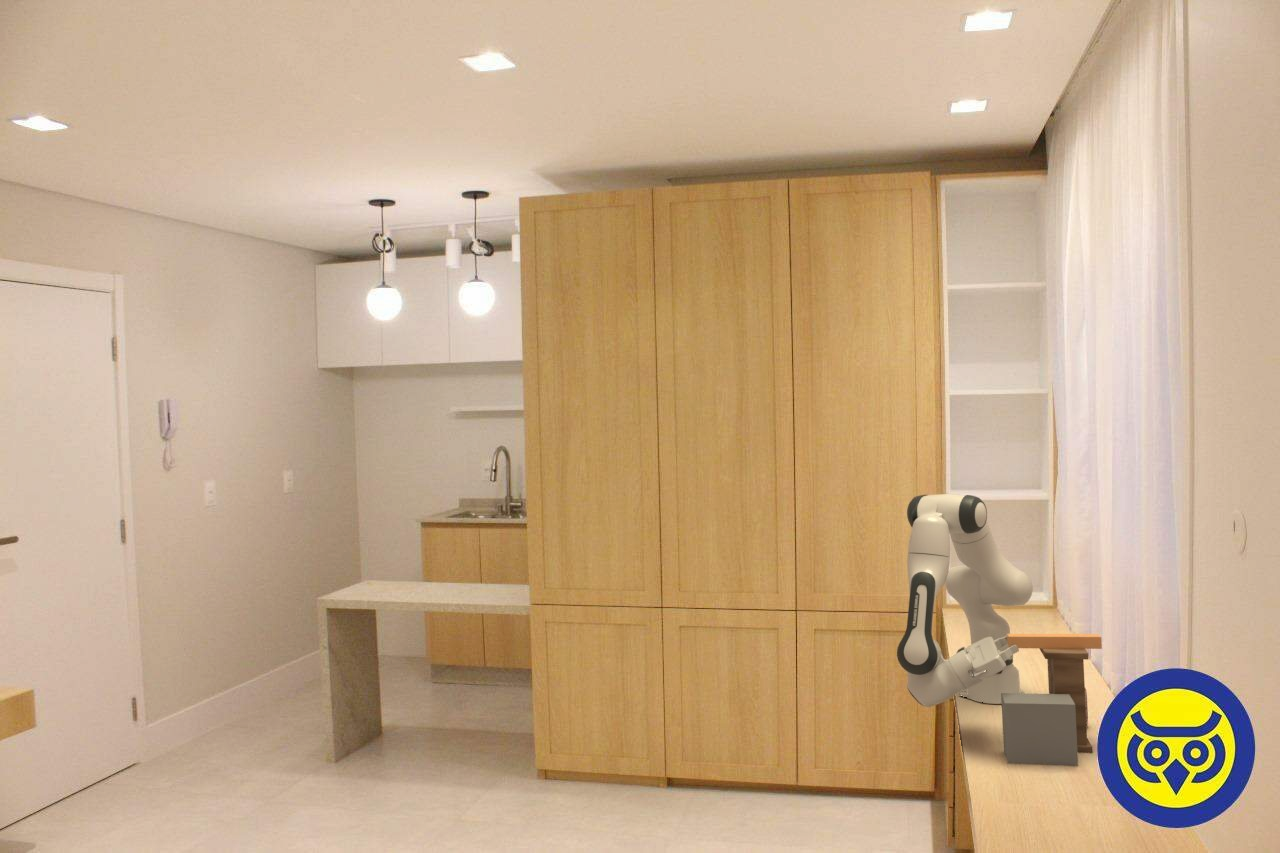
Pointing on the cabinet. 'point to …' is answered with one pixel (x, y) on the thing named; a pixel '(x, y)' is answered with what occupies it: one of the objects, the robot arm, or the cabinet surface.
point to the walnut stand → (1070, 685)
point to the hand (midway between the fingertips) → (1015, 641)
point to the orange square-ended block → (1056, 641)
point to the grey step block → (1039, 729)
